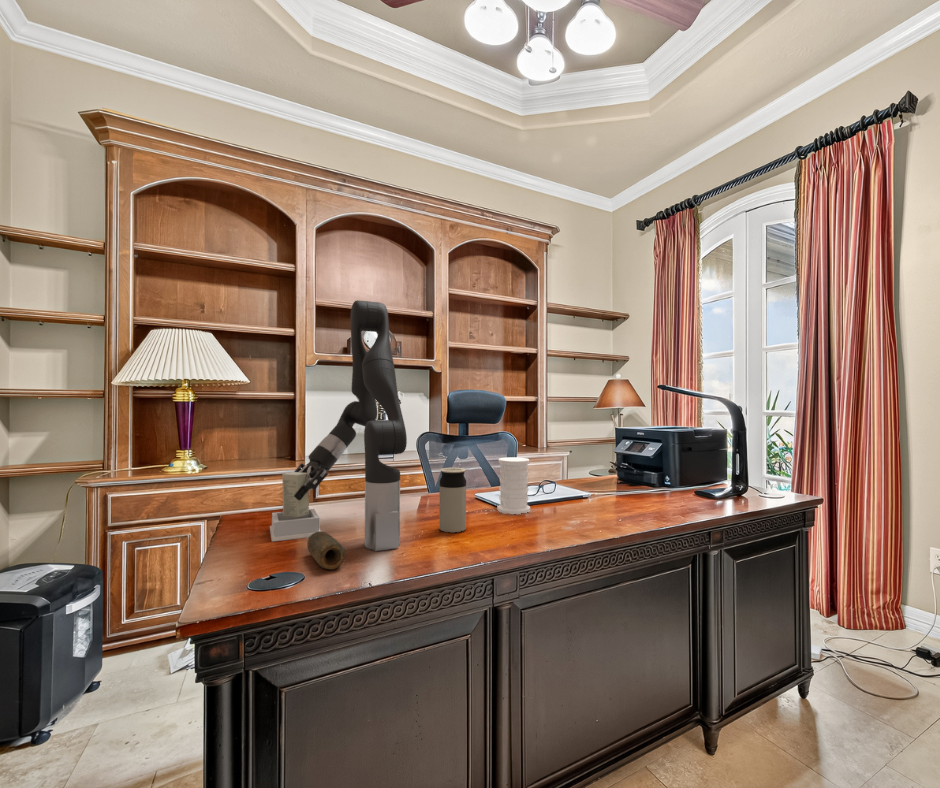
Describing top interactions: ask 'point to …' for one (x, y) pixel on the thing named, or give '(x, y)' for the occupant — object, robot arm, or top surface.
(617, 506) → the top surface
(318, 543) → the brown hollow cylinder
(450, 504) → the travel mug
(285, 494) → the skincare box
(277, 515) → the bottle stand
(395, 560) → the top surface
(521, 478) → the decorative container
